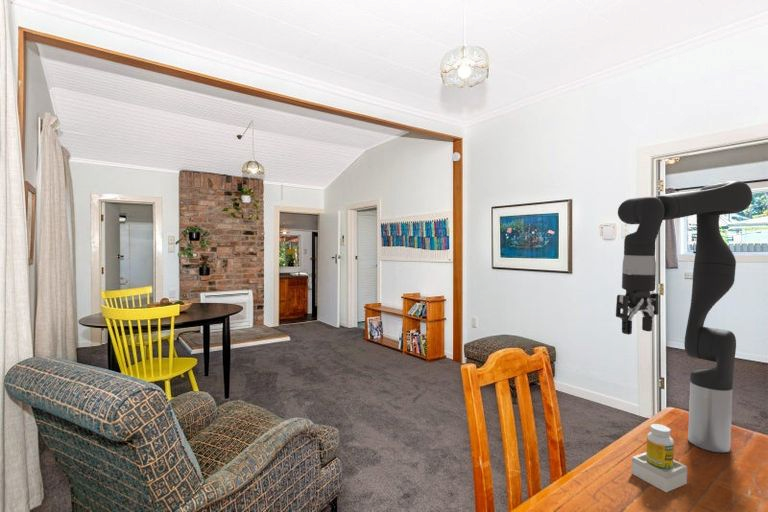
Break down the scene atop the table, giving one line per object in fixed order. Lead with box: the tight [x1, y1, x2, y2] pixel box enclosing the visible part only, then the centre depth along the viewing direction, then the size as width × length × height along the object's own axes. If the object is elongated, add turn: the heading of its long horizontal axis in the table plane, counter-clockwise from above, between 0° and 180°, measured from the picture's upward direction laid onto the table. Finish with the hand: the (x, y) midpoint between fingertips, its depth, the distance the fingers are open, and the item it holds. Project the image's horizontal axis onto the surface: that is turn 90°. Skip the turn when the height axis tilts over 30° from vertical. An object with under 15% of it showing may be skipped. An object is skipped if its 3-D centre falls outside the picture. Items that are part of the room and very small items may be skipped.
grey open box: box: [631, 451, 688, 493], centre depth 95 cm, size 8×8×4 cm
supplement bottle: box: [645, 423, 675, 472], centre depth 95 cm, size 5×5×10 cm
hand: (636, 332), depth 105 cm, fingers open, 8 cm apart
